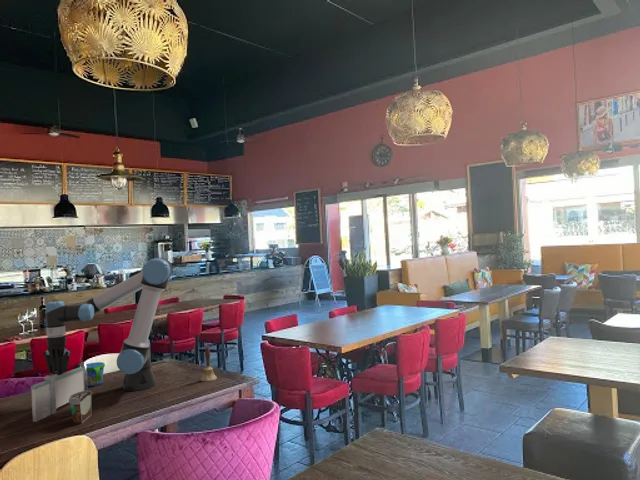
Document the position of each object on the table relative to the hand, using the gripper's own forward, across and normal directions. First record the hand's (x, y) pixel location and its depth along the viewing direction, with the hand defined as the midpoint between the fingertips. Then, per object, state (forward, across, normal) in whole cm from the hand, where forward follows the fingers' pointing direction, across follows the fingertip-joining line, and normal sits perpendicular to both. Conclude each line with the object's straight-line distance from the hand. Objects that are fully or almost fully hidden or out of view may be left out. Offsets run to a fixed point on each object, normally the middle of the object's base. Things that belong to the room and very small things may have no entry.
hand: (58, 388), depth 214 cm
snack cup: (+7, -2, +27) cm, 28 cm away
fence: (+7, +7, -7) cm, 12 cm away
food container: (+7, +25, -20) cm, 33 cm away
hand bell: (+7, +56, +36) cm, 67 cm away
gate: (+5, +7, -3) cm, 9 cm away
